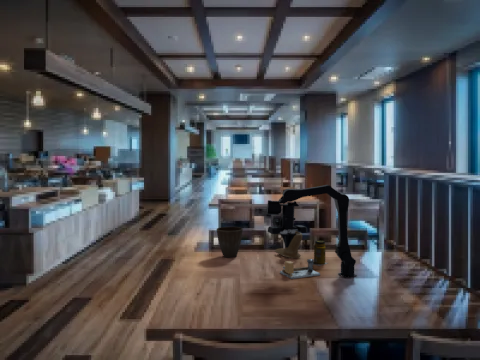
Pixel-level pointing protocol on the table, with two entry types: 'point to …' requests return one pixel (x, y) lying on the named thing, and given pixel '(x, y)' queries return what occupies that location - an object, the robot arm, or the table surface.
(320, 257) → the condiment
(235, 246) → the plant pot
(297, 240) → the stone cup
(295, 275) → the plate
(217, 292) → the table surface
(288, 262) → the leg
